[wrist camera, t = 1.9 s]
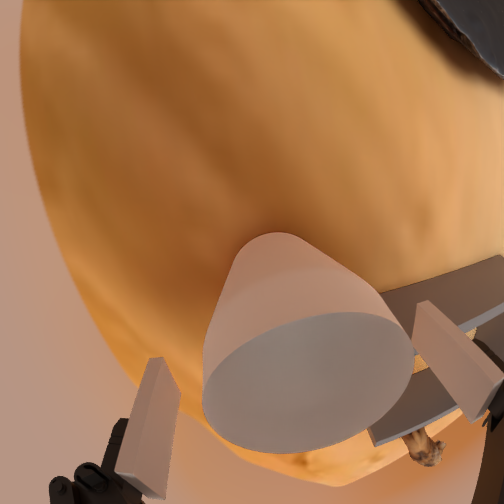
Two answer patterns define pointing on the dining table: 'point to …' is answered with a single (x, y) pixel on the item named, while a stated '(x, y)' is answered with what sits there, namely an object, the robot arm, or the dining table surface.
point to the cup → (299, 350)
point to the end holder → (464, 317)
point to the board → (473, 27)
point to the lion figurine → (423, 448)
